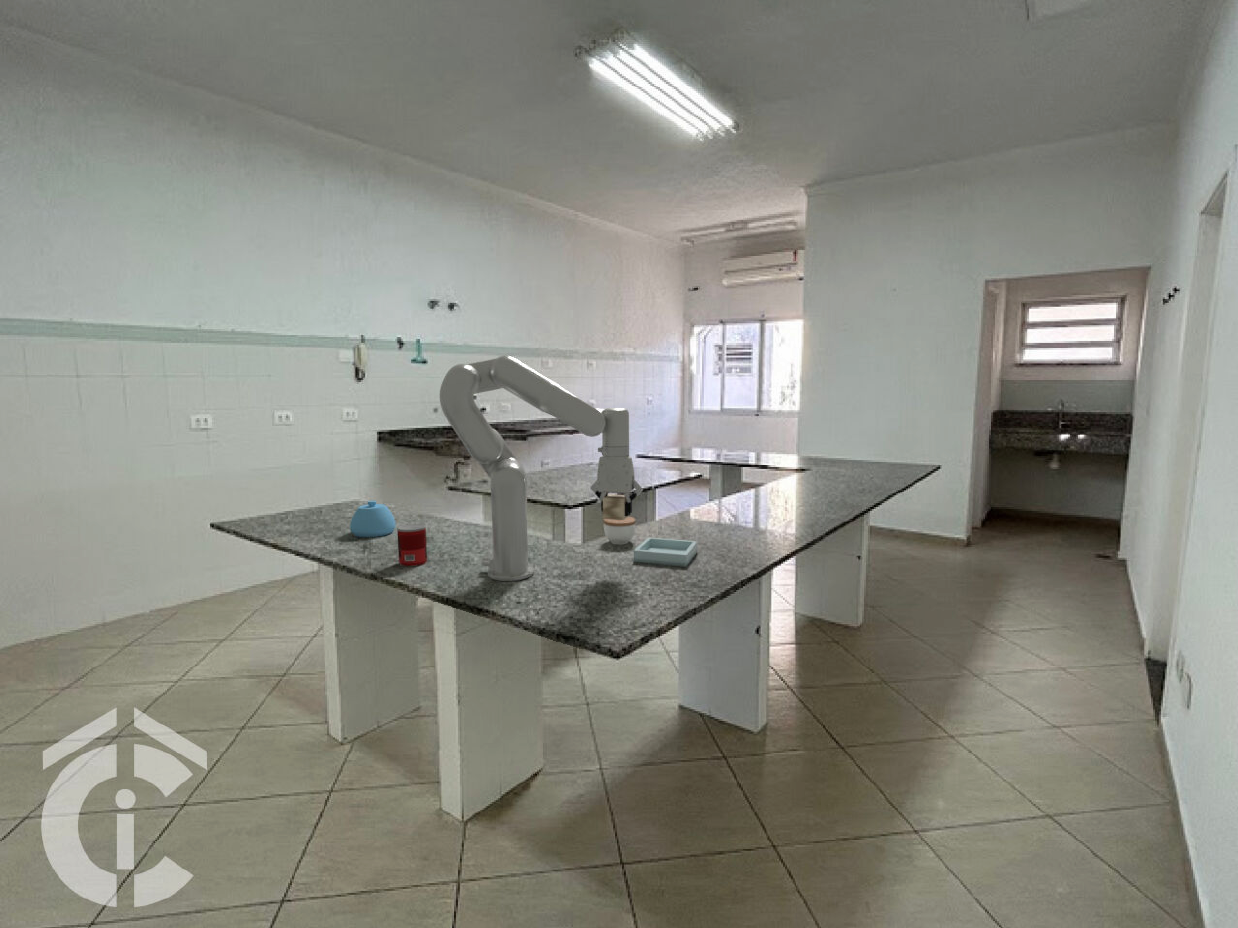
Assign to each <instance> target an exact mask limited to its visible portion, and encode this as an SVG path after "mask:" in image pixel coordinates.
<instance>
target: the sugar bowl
mask: <svg viewBox="0 0 1238 928" xmlns="http://www.w3.org/2000/svg"><path fill="white" fill-rule="evenodd" d="M396 525H397V524H396V520H395V517H394V515H393V512H391V510H390V508H389V507H387V505H385V504H384V503H377V500H368V501H367V504H363V505H360V506H358V508H357V509H356V511H355V512H354V513H353V516H352V517H351V520H350V526H349V530H350V532H351V533H352V534H353V535H354V536H355V537H357V538H376V537H377V538H378V537H382V536H383V537H385V536H386V535H390V534H392V533H393V531H394V530H395V529H396Z"/></svg>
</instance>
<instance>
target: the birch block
mask: <svg viewBox="0 0 1238 928" xmlns="http://www.w3.org/2000/svg"><path fill="white" fill-rule="evenodd" d="M625 503H626V498H625V496H624V494H618V493H608V495H607V496H606V497H604V498H603V511H602V517H603V518H602V519H603V520H604V519H613V520H624V519H626V518H627V517H631V514H630V515H629V516H625Z"/></svg>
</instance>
